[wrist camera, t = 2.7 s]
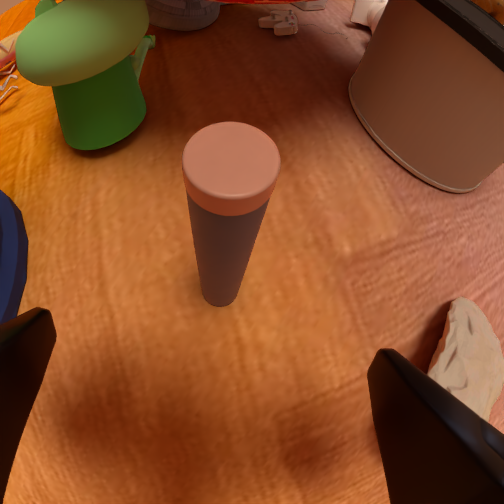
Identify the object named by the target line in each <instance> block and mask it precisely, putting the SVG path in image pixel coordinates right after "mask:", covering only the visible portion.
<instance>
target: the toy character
mask: <svg viewBox="0 0 504 504" xmlns="http://www.w3.org/2000/svg"><path fill="white" fill-rule="evenodd" d="M148 26H149V14H148V10H147V6H146V2H145V0H64V1H62V2H60V3H58V4H57V3H56V1H55V0H41V1H40V2H39V3H38V5H37V6H36V8H35V18H34V19H33V20H32V21H31V22H29V23H28V24H27V25H26V27H25V28H24V29H23V31H22V32H21V34H20V35H19V36H18V38H17V41H16V44H15V50H16V63H17V68H18V70H19V72H20V74H21V75H22V76H23V77H24V78H26V79H27V80H29V81H31V82H32V83H35V84H37V85H41V86H52V90H53V94H54V99H55V104H56V108H57V112H58V116H59V120H60V124H61V128H62V132H63V136H64V138H65V141H66V143H67V144H68V145H70V146H71V147H72V148H75V149H80V150H94V149H99V148H103V147H106V146H109V145H112V144H114V143H116V142H118V141H120V140H122V139H123V138H125V137H126V136H128V135H129V134H130V133H132V132H133V131H134V130H135V129H136V128H137V127H138V126H139V125H140V123H141V122H142V121H143V119H144V117H145V114H146V111H147V109H146V103H145V100H144V97H143V94H142V91H141V89H140V86H139V83H138V80H139V76H140V72H141V69H142V65H143V62H144V59H145V56H146V53H147V50H148V49H152V48H154V47H155V42H156V37H155V35H153V36H152V35H151V34H150V35H149V36H147V35H146V36H144V35H145V34H146V32H147V29H148ZM136 47H137V49H136V51H135V54H134V55H129V54H130V53H131V52H133V51H134V50H135V48H136Z"/></svg>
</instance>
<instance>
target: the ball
mask: <svg viewBox="0 0 504 504" xmlns="http://www.w3.org/2000/svg"><path fill="white" fill-rule="evenodd" d="M205 1H214V2H223V3H240V4H286V3H291V2H300V1H305V2H310V1H318V0H205Z"/></svg>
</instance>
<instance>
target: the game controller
mask: <svg viewBox="0 0 504 504" xmlns="http://www.w3.org/2000/svg"><path fill="white" fill-rule="evenodd" d="M270 13H271V16H267V17H261V18H259V27H261V28H274V34H275V35H290V34H295V33H296V32H297V31H298V25H299V24H298V19H297V17H296V15H295V14H294V13H292V11H291V10H289V11H286V10H272V11H271V12H270ZM307 25H308V24H307ZM310 25H312V24H310ZM303 26H306V25H303ZM315 26H316V25H315ZM321 31H322V30H321ZM323 32H324V31H323ZM325 33H326V32H325ZM328 34H330V33H328ZM334 34H335V33H334ZM339 34H340V33H339ZM342 35H343V34H342ZM346 37H347V36H346Z"/></svg>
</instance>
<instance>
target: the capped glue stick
mask: <svg viewBox="0 0 504 504" xmlns="http://www.w3.org/2000/svg"><path fill="white" fill-rule="evenodd" d="M280 168H281V159H280V154H279V151H278V149H277V146H276V145H275V143H274V142H273V140H272V139H271V138H270V137H269V136H268V135H267V134H266V133H264V132H263V131H261V130H260V129H258V128H256V127H254V126H251V125H249V124H245V123H241V122H219V123H215V124H211V125H209V126H206V127H204V128H202V129H201V130H199V131H198V132H196V133H195V134H194V135H193V136H192V137H191V138H190V139H189V141H188V142H187V144H186V146H185V148H184V150H183V154H182V169H183V176H184V183H185V187H186V193H187V200H188V207H189V214H190V221H191V227H192V234H193V240H194V247H195V253H196V259H197V265H198V271H199V276H200V282H201V288H202V293H203V296H204V298H205V299H206V301H207V302H209V303H210V304H212V305H214V306H219V307H222V306H226V305H229V304H230V303H232V302H233V301H234V299H235V298H236V296H237V293H238V290H239V287H240V284H241V281H242V279H243V276H244V273H245V270H246V267H247V264H248V261H249V258H250V255H251V252H252V249H253V246H254V243H255V240H256V237H257V234H258V231H259V228H260V225H261V222H262V220H263V217H264V214H265V211H266V208H267V205H268V202H269V199H270V196H271V194H272V192H273V190H274V187H275V184H276V181H277V178H278V175H279V172H280Z"/></svg>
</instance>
